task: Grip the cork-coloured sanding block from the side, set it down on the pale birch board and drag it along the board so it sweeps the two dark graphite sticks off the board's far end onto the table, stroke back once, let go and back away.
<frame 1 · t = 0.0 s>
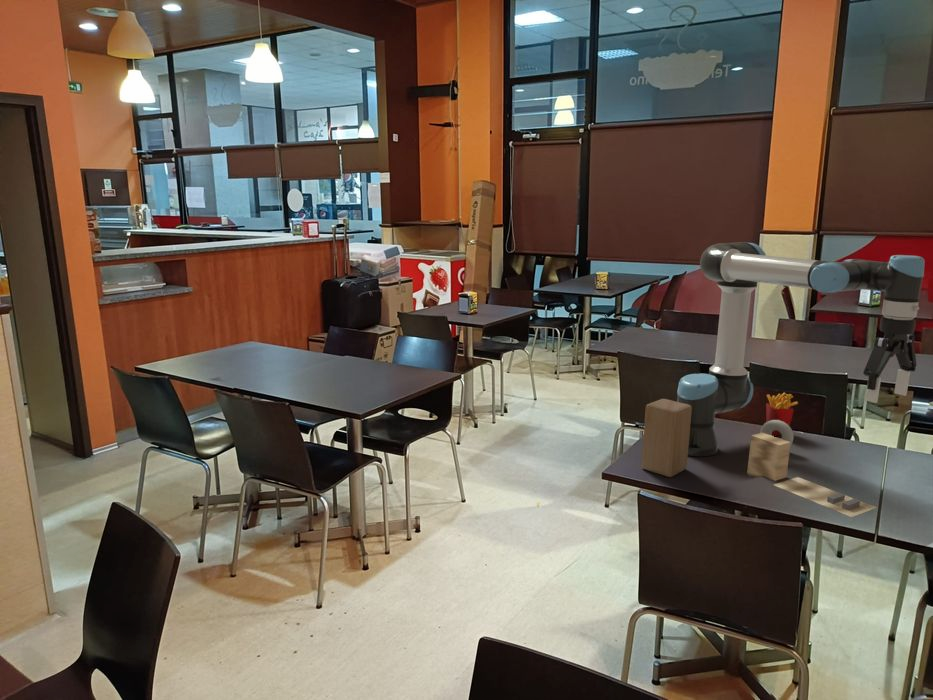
hand: (885, 398, 176), 28 cm above the table, tool pointing down, fingers open, 13 cm apart
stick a: (835, 500, 177), point 1 cm above the table, touching board
board: (822, 500, 180), on the table
block: (663, 469, 200), on the table
french fries: (780, 435, 230), on the table
donut: (774, 450, 216), on the table
sanding block: (766, 478, 194), on the table
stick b: (850, 506, 173), point 1 cm above the table, touching board
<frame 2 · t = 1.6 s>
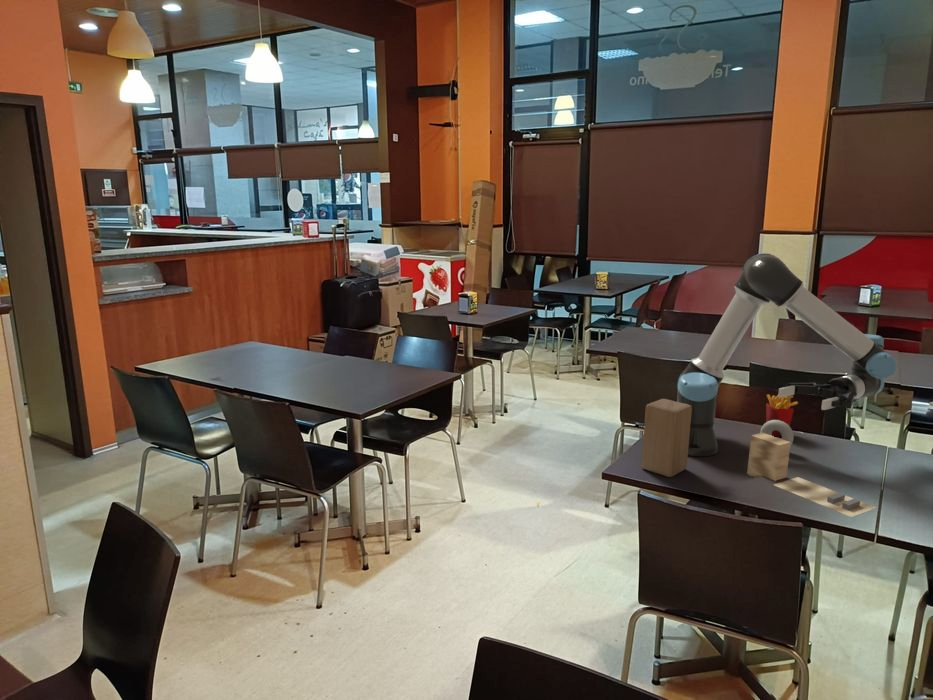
hand: (800, 398, 195), 22 cm above the table, tool horizontal, fingers open, 13 cm apart
nothing on the table moved.
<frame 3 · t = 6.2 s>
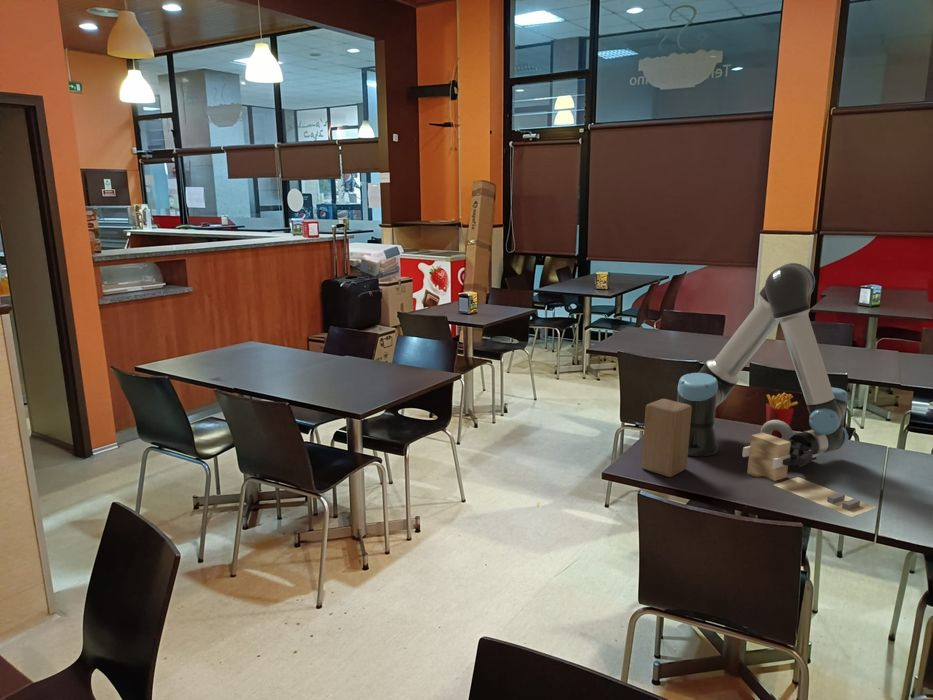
hand: (758, 457, 191), 7 cm above the table, tool horizontal, fingers closed on sanding block, 9 cm apart
sanding block: (766, 478, 194), on the table, touching gripper
everything else where it was.
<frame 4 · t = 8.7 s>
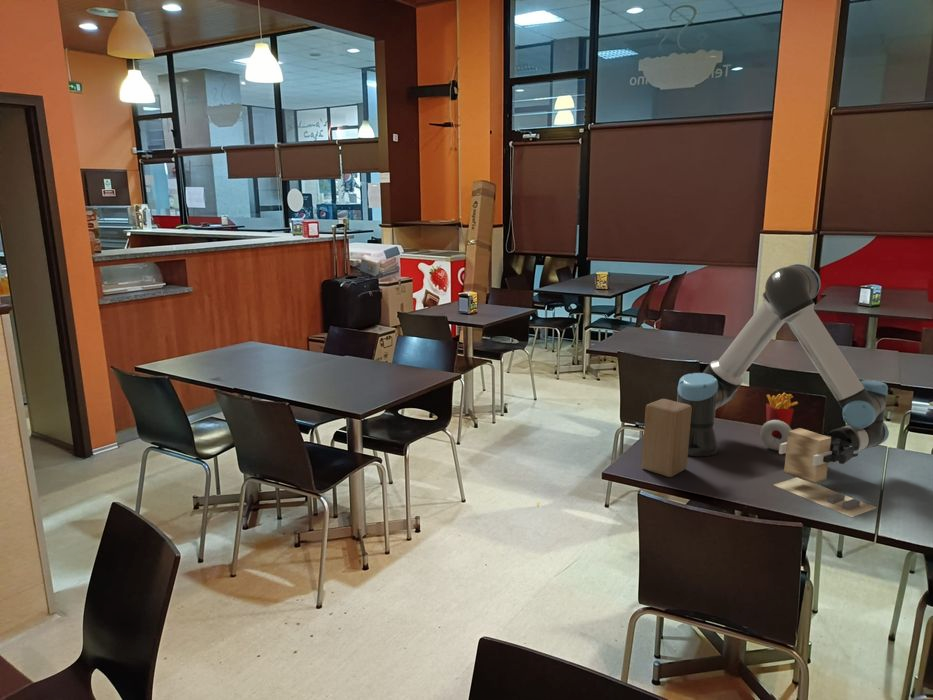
hand: (796, 454, 180), 12 cm above the table, tool horizontal, fingers closed on sanding block, 9 cm apart
sanding block: (804, 476, 184), point 5 cm above the table, touching gripper
everything else where it was.
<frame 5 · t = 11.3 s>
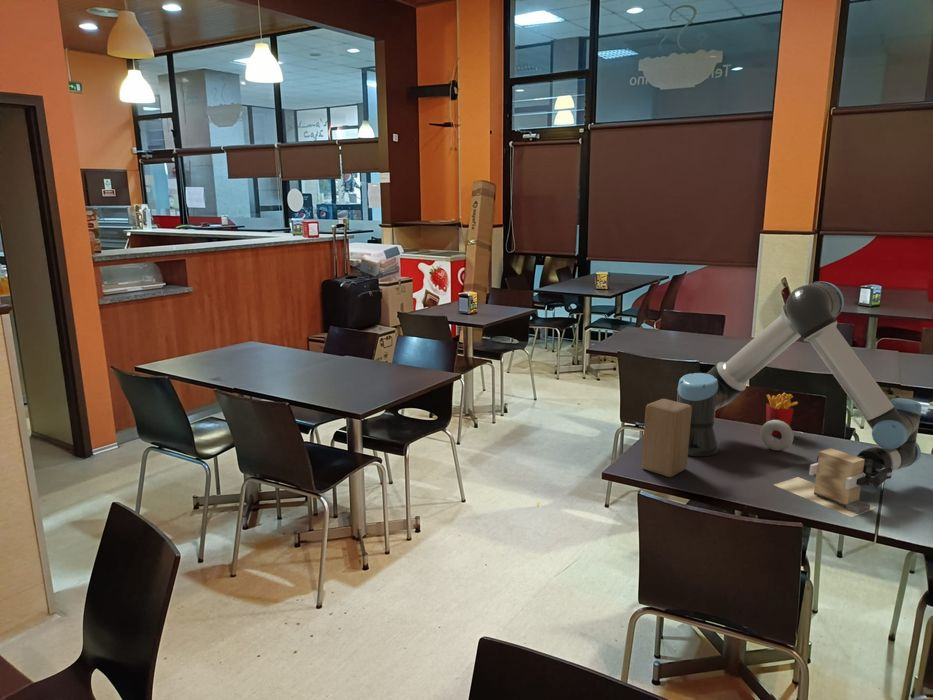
hand: (828, 476, 173), 9 cm above the table, tool horizontal, fingers closed on sanding block, 9 cm apart
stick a: (854, 508, 173), point 2 cm above the table, touching sanding block
sanding block: (835, 498, 177), point 2 cm above the table, touching gripper, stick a
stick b: (860, 510, 171), point 2 cm above the table, touching board
everything else where it was.
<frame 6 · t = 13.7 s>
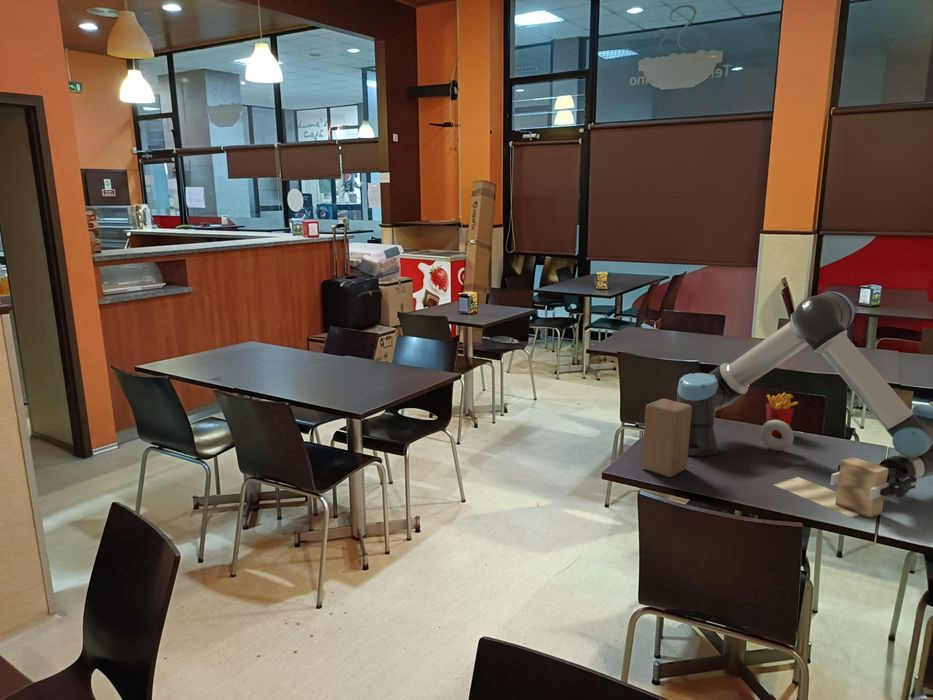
hand: (851, 486, 168), 9 cm above the table, tool horizontal, fingers closed on sanding block, 9 cm apart
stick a: (873, 520, 169), point 1 cm above the table, tilted 91°
sanding block: (858, 508, 172), point 2 cm above the table, touching gripper
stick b: (877, 519, 168), point 1 cm above the table, tilted 180°
everything else where it was.
when the fingers open (9 cm above the table, at t = 15.8 s): sanding block stays where it is, resting on board.
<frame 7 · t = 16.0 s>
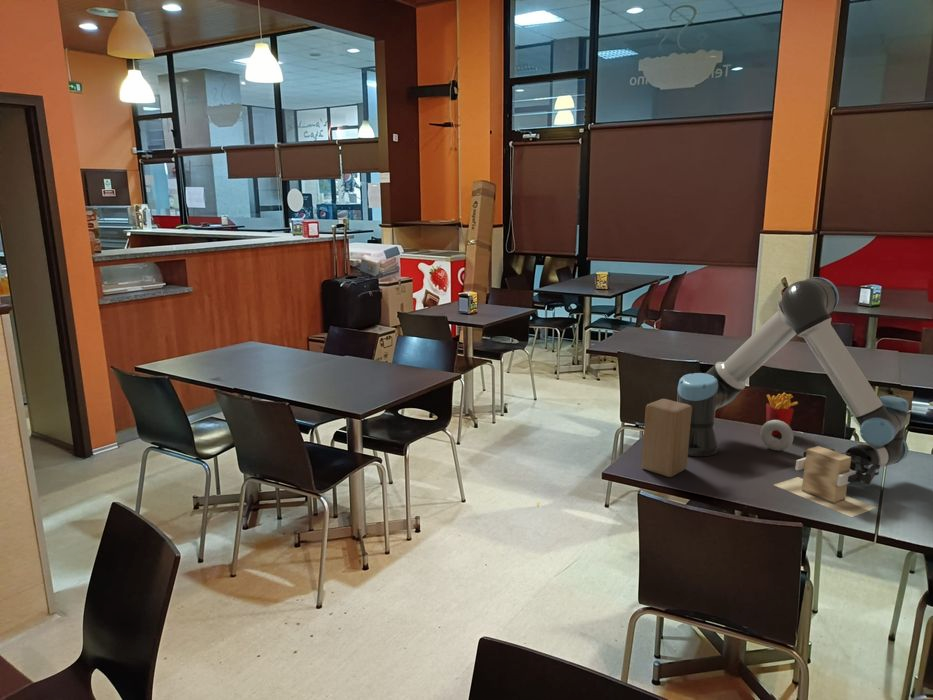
hand: (817, 472, 176), 9 cm above the table, tool horizontal, fingers open, 11 cm apart
sanding block: (822, 495, 180), point 1 cm above the table, touching board
everything else where it was.
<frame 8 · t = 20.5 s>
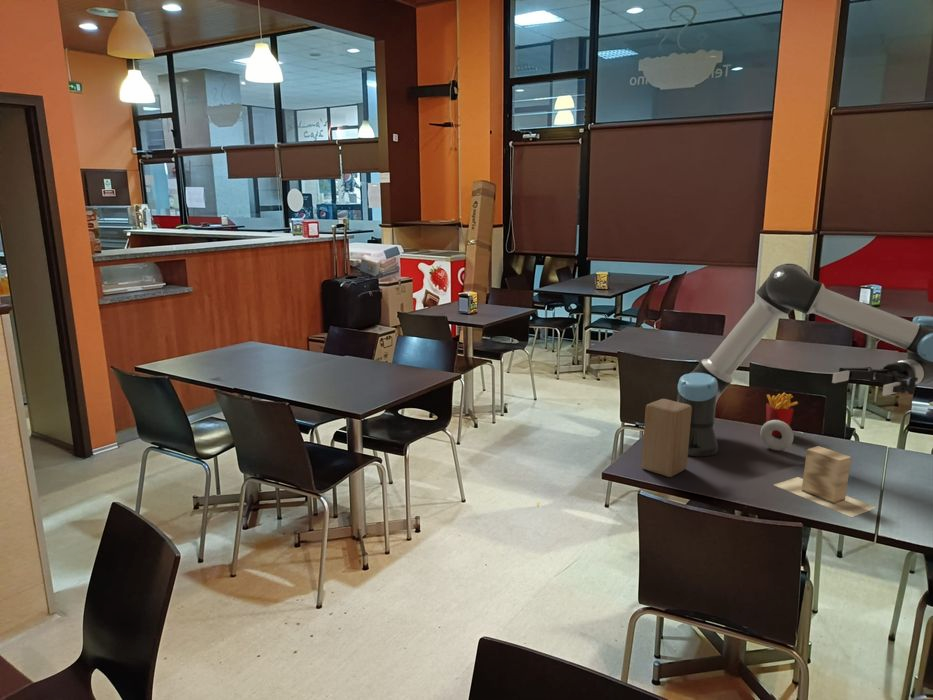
hand: (858, 384, 181), 30 cm above the table, tool horizontal, fingers open, 13 cm apart
nothing on the table moved.
at the end: sanding block inside the target area (1.0 cm from its centre), point 1.5 cm above the table; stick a inside the target area (9.7 cm from its centre), point 0.5 cm above the table; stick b inside the target area (8.8 cm from its centre), point 1.0 cm above the table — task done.
